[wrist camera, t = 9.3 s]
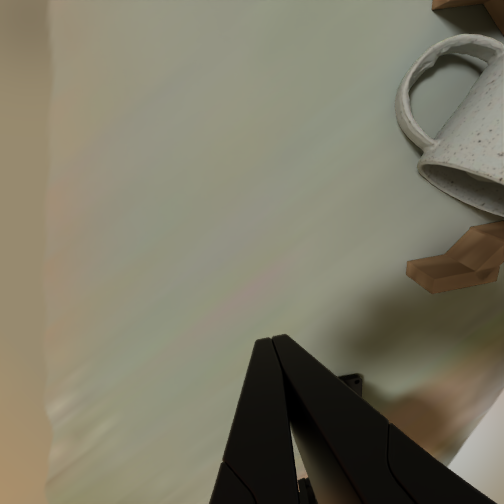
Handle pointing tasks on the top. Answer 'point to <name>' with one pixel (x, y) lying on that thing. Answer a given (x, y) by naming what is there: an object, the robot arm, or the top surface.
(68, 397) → the top surface
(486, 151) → the ceramic mug
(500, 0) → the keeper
